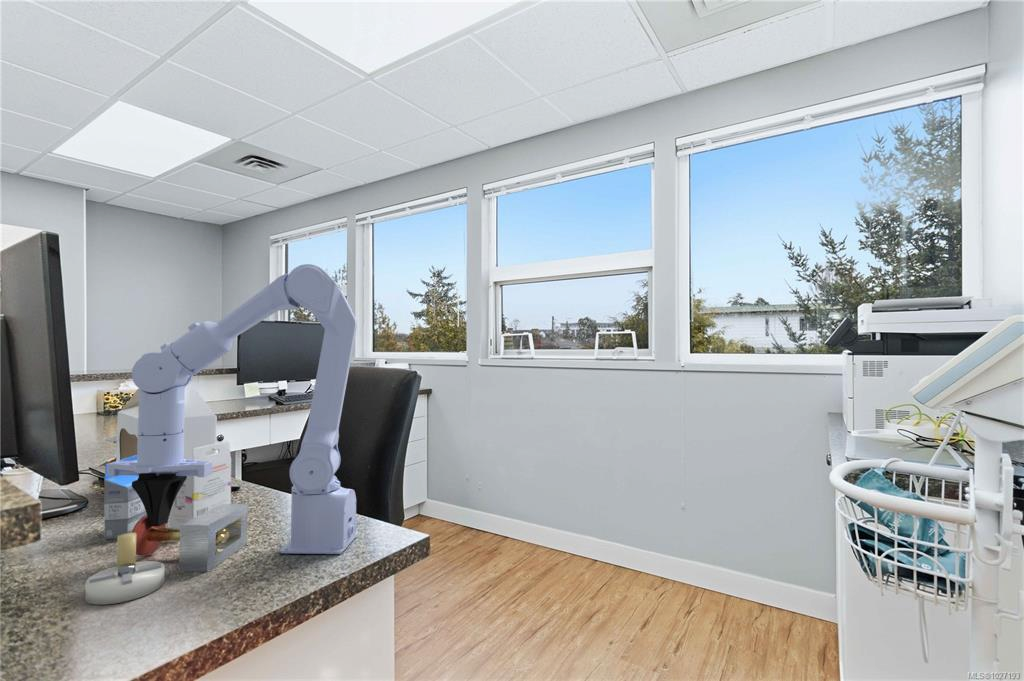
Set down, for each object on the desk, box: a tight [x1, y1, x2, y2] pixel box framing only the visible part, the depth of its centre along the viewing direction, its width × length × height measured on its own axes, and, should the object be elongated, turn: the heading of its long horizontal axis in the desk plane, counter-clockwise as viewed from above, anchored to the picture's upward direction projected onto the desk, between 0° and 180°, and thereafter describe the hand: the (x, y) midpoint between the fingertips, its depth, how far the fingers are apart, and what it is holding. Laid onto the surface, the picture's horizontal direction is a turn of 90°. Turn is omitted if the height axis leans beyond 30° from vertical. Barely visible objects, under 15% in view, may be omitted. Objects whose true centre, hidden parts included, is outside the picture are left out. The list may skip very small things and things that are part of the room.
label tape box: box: [103, 455, 147, 540], centre depth 85 cm, size 9×4×12 cm, turn 5°
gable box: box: [115, 381, 218, 472], centre depth 109 cm, size 22×13×28 cm, turn 49°
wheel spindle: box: [118, 563, 136, 576], centre depth 63 cm, size 2×2×1 cm
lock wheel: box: [84, 533, 166, 606], centre depth 64 cm, size 8×8×6 cm
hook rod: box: [132, 515, 229, 557], centre depth 74 cm, size 13×6×6 cm, turn 89°
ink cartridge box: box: [168, 440, 232, 528], centre depth 86 cm, size 9×5×15 cm, turn 168°
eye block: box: [178, 503, 249, 573], centre depth 74 cm, size 4×10×6 cm, turn 179°
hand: (158, 524), depth 74 cm, fingers closed
